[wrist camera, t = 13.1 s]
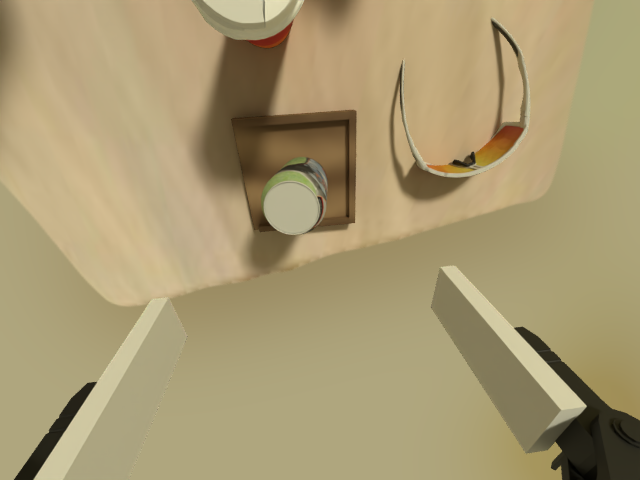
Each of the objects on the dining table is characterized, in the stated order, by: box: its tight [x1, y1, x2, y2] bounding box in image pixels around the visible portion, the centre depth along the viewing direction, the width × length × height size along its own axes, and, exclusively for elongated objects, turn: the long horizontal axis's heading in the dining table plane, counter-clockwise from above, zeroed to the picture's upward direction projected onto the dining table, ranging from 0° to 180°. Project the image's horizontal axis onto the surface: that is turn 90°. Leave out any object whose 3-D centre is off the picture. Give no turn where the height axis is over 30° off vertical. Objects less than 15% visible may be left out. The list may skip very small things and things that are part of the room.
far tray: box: [231, 110, 356, 232], centre depth 33 cm, size 14×14×2 cm
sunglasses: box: [400, 17, 530, 178], centre depth 30 cm, size 14×15×5 cm
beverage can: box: [261, 157, 328, 235], centre depth 27 cm, size 6×7×12 cm
